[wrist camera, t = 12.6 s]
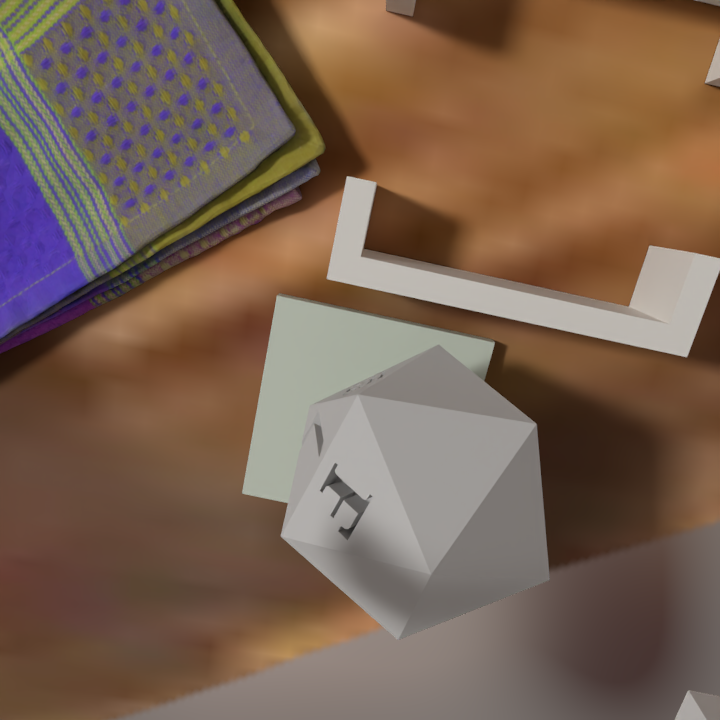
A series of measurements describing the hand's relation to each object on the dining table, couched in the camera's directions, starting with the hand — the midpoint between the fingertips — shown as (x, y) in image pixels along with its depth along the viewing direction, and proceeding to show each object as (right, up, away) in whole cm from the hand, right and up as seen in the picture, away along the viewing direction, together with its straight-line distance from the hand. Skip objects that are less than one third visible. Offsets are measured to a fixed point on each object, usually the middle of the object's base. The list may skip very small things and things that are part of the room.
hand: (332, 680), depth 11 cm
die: (+3, +3, +14) cm, 15 cm away
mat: (+1, +4, +15) cm, 15 cm away
